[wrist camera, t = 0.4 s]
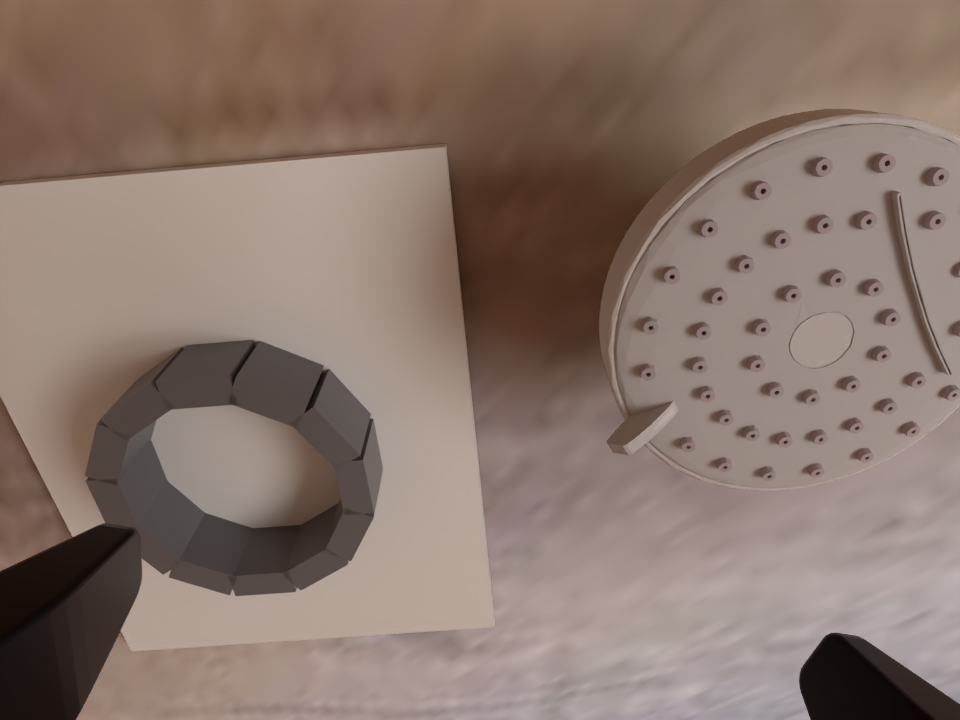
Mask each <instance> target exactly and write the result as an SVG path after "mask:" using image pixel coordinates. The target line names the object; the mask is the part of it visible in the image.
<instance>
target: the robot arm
mask: <svg viewBox="0 0 960 720" xmlns="http://www.w3.org/2000/svg"><path fill="white" fill-rule="evenodd" d="M141 581H142V557H141V537H140V533H139V531H138V530H137V529H136V528H135V527H130V526H123V525H116V524H110V523H103V524H100V525H97V526H95V527H93V528H91V529H89V530H87V531H84V532H82V533H80V534H78V535H76V536H74V537H72V538H70V539H68V540H65V541H63V542H61V543H59V544H57V545H55V546H53V547H51V548H49V549H46V550H44V551H42V552H40V553H38V554H36V555H34V556H32V557H30V558H27V559H25V560H23V561H21V562H19V563H17V564H15V565H13V566H11V567H9V568H6V569H4V570H2V571H0V720H76V718H77V717H78V715H79V713H80V712H81V710H82V708H83V706H84V704H85V702H86V700H87V698H88V696H89V694H90V692H91V690H92V688H93V686H94V684H95V682H96V680H97V678H98V676H99V674H100V672H101V670H102V668H103V666H104V663H105V661H106V659H107V657H108V655H109V653H110V651H111V649H112V647H113V645H114V643H115V641H116V639H117V637H118V635H119V633H120V631H121V629H122V627H123V625H124V622H125V620H126V618H127V616H128V614H129V612H130V610H131V608H132V606H133V604H134V602H135V600H136V598H137V595H138V592H139V589H140V586H141ZM799 684H800V690H801V693H802V696H803V699H804V702H805V705H806V708H807V710H808V713H809V716H810V719H811V720H960V704H959V703H957V702H956V701H954V700H953V699H951V698H950V697H948V696H947V695H945V694H944V693H942V692H941V691H939V690H938V689H937V688H935V687H934V686H932V685H931V684H929V683H928V682H926V681H925V680H923V679H922V678H920V677H919V676H917V675H916V674H914V673H913V672H912V671H910V670H909V669H907V668H906V667H904V666H903V665H901V664H900V663H898V662H897V661H895V660H894V659H892V658H891V657H890V656H888V655H887V654H885V653H884V652H882V651H881V650H879V649H878V648H876V647H875V646H873V645H872V644H870V643H869V642H868V641H866V640H864V639H862V638H860V637H858V636H854V635H848V634H841V633H830V634H828V635H826V636H825V637H824V638H823V640H822V641H821V642H820V644H819V645H818V646H817V648H816V649H815V650H814V652H813V653H812V654H811V656H810V657H809V658H808V660H807V661H806V662H805V664H804V665H803V667H802V668H801V671H800V676H799Z"/></svg>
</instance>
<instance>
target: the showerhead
mask: <svg viewBox="0 0 960 720" xmlns="http://www.w3.org/2000/svg"><path fill="white" fill-rule="evenodd" d="M599 339H600V347H601V354H602V358H603V362H604V366H605V370H606V373H607V376H608V379H609V382H610V385H611V389H612V392H613V394H614V397H615V400H616V402H617V405H618V407H619V409H620V411H621V413H622V415H623V417H624V419H625V421H624V422H623V423H622V424H621V425H620V426H619V428H618V429H617V430H616V431H615V432H614V433H613V434H612V435H611V437H610V438H609V439H608V440H607V443H608V445H609V446H610V448H611V450H612V451H613V452H614V453H619V454H625V455H630V454H632V453H634V452H635V451H636V450H638V449H639V448H640V447H642V446H643V445H645V446H646V447H647V448H648V449H649V450H650V451H651V452H652V453H653V454H655V455H656V456H657V457H659V458H660V459H661V460H663V461H664V462H665V463H667V464H668V465H670V466H672V467H673V468H675V469H677V470H679V471H680V472H683V473H685V474H687V475H689V476H691V477H694V478H696V479H699V480H701V481H704V482H708V483H711V484H715V485H720V486H724V487H728V488H733V489H743V490H758V491H776V490H788V489H797V488H803V487H809V486H815V485H821V484H825V483H828V482H831V481H834V480H838V479H841V478H844V477H847V476H851V475H854V474H857V473H859V472H861V471H863V470H866V469H868V468H870V467H872V466H874V465H876V464H879V463H881V462H883V461H885V460H887V459H889V458H892V457H893V456H895V455H896V454H898V453H900V452H901V451H903V450H905V449H906V448H908V447H909V446H911V445H913V444H914V443H916V442H917V441H919V440H920V439H921V438H923V437H924V436H925V435H927V434H928V433H929V432H931V431H932V430H933V429H935V428H936V427H937V426H939V425H940V424H941V423H942V422H943V421H944V420H945V419H946V418H947V417H948V416H949V415H950V414H952V413H953V412H954V411H955V410H956V409H957V408H958V407H959V406H960V136H959V135H957V134H955V133H953V132H951V131H949V130H947V129H945V128H943V127H940V126H937V125H934V124H932V123H929V122H926V121H923V120H918V119H913V118H909V117H904V116H899V115H892V114H885V113H878V112H871V111H863V110H853V109H823V110H815V111H808V112H801V113H796V114H791V115H785V116H781V117H778V118H775V119H771V120H768V121H765V122H762V123H759V124H757V125H754V126H752V127H749V128H747V129H745V130H742V131H740V132H738V133H736V134H734V135H732V136H730V137H728V138H727V139H725V140H723V141H721V142H719V143H717V144H716V145H714V146H713V147H711V148H709V149H708V150H706V151H704V152H703V153H701V154H700V155H698V156H697V157H696V158H694V159H693V160H692V161H691V162H689V163H688V164H687V165H685V166H684V167H683V168H681V169H680V170H679V171H678V172H677V173H676V174H675V175H674V176H673V177H672V178H671V179H669V180H668V181H667V182H666V183H665V184H664V185H663V186H662V187H661V188H660V189H659V190H658V192H657V193H656V194H655V195H654V196H653V197H652V198H651V199H650V200H649V202H648V203H647V204H646V205H645V207H644V208H643V209H642V210H641V212H640V213H639V214H638V216H637V217H636V219H635V220H634V222H633V223H632V225H631V226H630V228H629V229H628V231H627V232H626V234H625V236H624V238H623V240H622V242H621V244H620V246H619V247H618V249H617V251H616V254H615V256H614V259H613V261H612V264H611V266H610V268H609V272H608V275H607V278H606V281H605V285H604V289H603V295H602V300H601V307H600V316H599Z"/></svg>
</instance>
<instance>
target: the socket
mask: <svg viewBox="0 0 960 720" xmlns="http://www.w3.org/2000/svg"><path fill="white" fill-rule="evenodd" d="M0 397H1V399H2V401H3V403H4V405H5V406H6V408H7V410H8V412H9V414H10V416H11V418H12V420H13V422H14V424H15V426H16V428H17V430H18V432H19V434H20V436H21V438H22V440H23V442H24V443H25V445H26V447H27V449H28V451H29V453H30V455H31V457H32V459H33V461H34V463H35V465H36V467H37V469H38V471H39V473H40V475H41V477H42V478H43V480H44V482H45V484H46V486H47V488H48V490H49V492H50V494H51V496H52V498H53V500H54V502H55V504H56V506H57V508H58V510H59V512H60V513H61V515H62V517H63V519H64V521H65V523H66V525H67V527H68V529H69V531H70V533H71V535H72V537H74V536H76V535H78V534H80V533H82V532H84V531H87V530H89V529H91V528H93V527H95V526H97V525H100V524H103V523H110V524H116V525H123V526H130V527H135V528H136V529H137V530H138V531H139V533H140V537H141V557H142V581H141V586H140V589H139V592H138V595H137V598H136V600H135V602H134V604H133V606H132V608H131V610H130V612H129V614H128V616H127V618H126V620H125V622H124V625H123V627H122V629H121V632H122V634H123V636H124V638H125V640H126V642H127V644H128V646H129V648H130V650H131V651H145V650H160V649H175V648H190V647H204V646H219V645H234V644H249V643H264V642H279V641H293V640H308V639H323V638H338V637H353V636H368V635H382V634H397V633H412V632H427V631H442V630H456V629H471V628H486V627H495V620H494V607H493V598H492V588H491V578H490V568H489V558H488V548H487V539H486V529H485V519H484V509H483V499H482V490H481V480H480V470H479V460H478V450H477V441H476V431H475V421H474V411H473V401H472V392H471V382H470V372H469V362H468V352H467V342H466V333H465V323H464V313H463V303H462V293H461V284H460V274H459V264H458V254H457V244H456V235H455V225H454V215H453V205H452V195H451V185H450V176H449V166H448V156H447V146H446V144H434V145H423V146H411V147H400V148H389V149H377V150H366V151H354V152H343V153H331V154H320V155H308V156H297V157H285V158H274V159H263V160H251V161H240V162H228V163H217V164H205V165H194V166H182V167H171V168H159V169H148V170H136V171H125V172H114V173H102V174H91V175H79V176H68V177H56V178H45V179H33V180H22V181H10V182H0Z"/></svg>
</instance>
